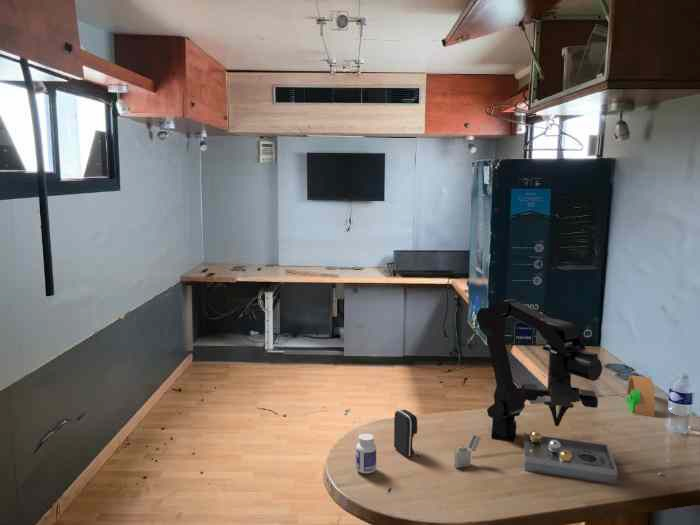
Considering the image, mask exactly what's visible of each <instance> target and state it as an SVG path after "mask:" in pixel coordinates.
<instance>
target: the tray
mask: <svg viewBox="0 0 700 525" xmlns="http://www.w3.org/2000/svg"><path fill="white" fill-rule="evenodd" d="M551 440H557V441H558V442H559V443H560V444H561V450H560V451H559V452H558V453H553V452H551V451H550V450H549V448H548V443H549V441H551ZM563 450H567V451H569V452H570V453H571V454H572V456H573V460H572V462H571V463H567V462H561V461H560V460H559V453H560V452H561V451H563ZM523 460H524V464H523V465H524V471H526V472H533V473H538V474H545V475H550V476H558V477H563V478H564V477H565V478H571V479H575V480H576V479H577V480H581V481H582V480H583V481H588V482H589V481H590V482H596V483H602V484H607V485H614V486H617V484H618V476H619V475H618V473H619V471H618V467H617V465H616V463H615V460H614V458H613V455H612V452H611V450H610V448H609V444H605V443H599V442H598V443H597V442H591V441H585V440H584V441H583V440H577V439H570V438H563V437H562V438H561V437H556V436H548V435H542V440H541V442H539V443H534V442H532V441H531V439H530V433H526V432H525V433H524V434H523Z"/></svg>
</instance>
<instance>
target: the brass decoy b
mask: <svg viewBox="0 0 700 525" xmlns="http://www.w3.org/2000/svg"><path fill="white" fill-rule="evenodd" d="M559 460H560V461H561V462H567V463H571V462H572V460H573V456H572V454H571V453H570V452H569V451H567V450H563V451H561V452H560V453H559Z"/></svg>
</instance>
